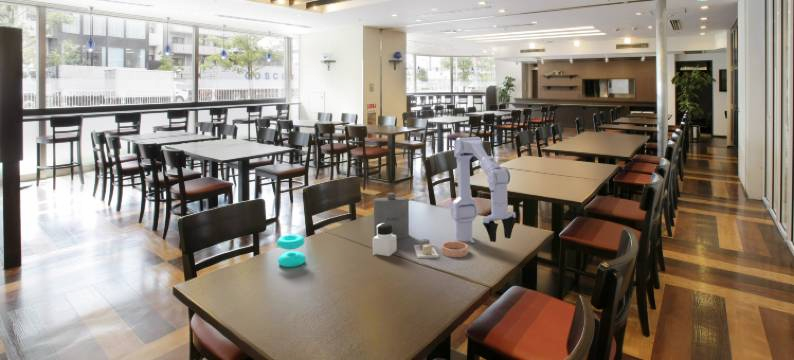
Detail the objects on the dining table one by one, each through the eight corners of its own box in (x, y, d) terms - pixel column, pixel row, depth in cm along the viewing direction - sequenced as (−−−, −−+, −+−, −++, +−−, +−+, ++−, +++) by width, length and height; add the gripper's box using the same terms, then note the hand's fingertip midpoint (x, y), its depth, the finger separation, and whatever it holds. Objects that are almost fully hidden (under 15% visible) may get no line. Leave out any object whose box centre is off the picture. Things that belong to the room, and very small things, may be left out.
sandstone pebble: (421, 253, 179) (421, 244, 178) (431, 252, 179) (431, 244, 178) (423, 256, 175) (423, 247, 175) (432, 256, 176) (432, 247, 175)
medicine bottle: (396, 252, 183) (396, 222, 180) (389, 258, 176) (388, 228, 174) (380, 249, 186) (380, 220, 183) (372, 255, 179) (371, 225, 177)
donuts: (300, 242, 165) (273, 242, 166) (302, 268, 167) (275, 268, 168) (307, 233, 175) (281, 233, 175) (308, 258, 177) (282, 258, 178)
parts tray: (414, 248, 186) (414, 245, 186) (433, 248, 186) (433, 244, 186) (417, 260, 174) (417, 256, 174) (438, 259, 175) (438, 255, 174)
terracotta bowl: (439, 250, 184) (439, 241, 183) (464, 249, 185) (464, 240, 184) (444, 259, 174) (444, 250, 174) (470, 258, 175) (470, 249, 174)
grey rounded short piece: (419, 247, 185) (419, 239, 184) (428, 247, 185) (428, 238, 184) (421, 251, 181) (421, 242, 180) (430, 250, 181) (430, 242, 181)
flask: (375, 241, 195) (374, 195, 191) (373, 237, 201) (372, 192, 197) (410, 239, 197) (409, 194, 193) (407, 235, 203) (407, 190, 199)
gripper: (493, 206, 158) (494, 244, 159) (521, 201, 166) (522, 238, 167) (478, 204, 164) (479, 241, 165) (506, 199, 172) (507, 235, 173)
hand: (500, 239), depth 167 cm, fingers open, 7 cm apart
